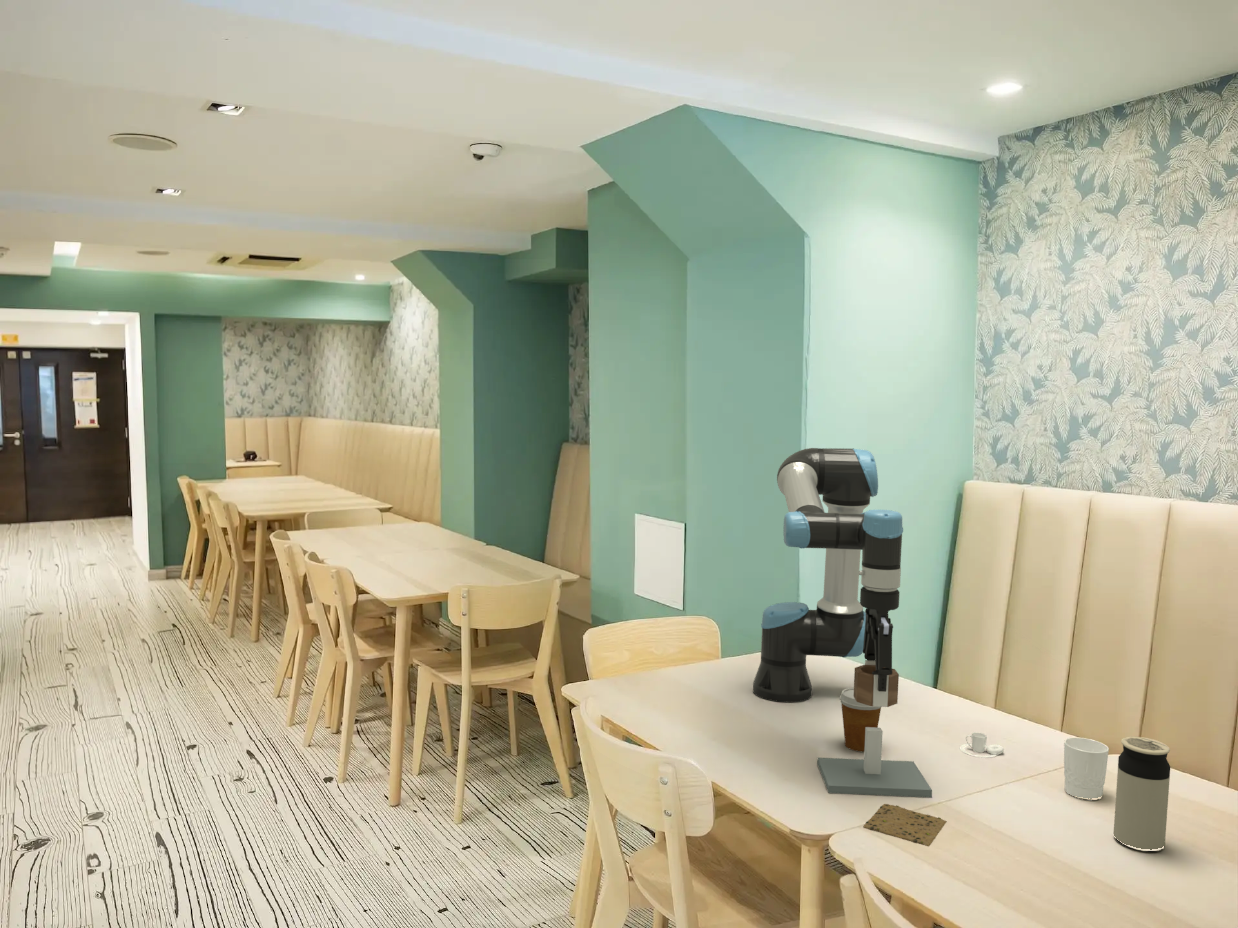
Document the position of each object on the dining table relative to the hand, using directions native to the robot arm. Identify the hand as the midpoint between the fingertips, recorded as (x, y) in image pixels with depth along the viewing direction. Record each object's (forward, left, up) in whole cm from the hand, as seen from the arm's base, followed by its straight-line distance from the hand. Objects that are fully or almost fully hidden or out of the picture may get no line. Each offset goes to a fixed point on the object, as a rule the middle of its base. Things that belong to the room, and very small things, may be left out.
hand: (875, 698), depth 188 cm
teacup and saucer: (-16, +28, -18) cm, 37 cm away
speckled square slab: (+19, +2, -18) cm, 26 cm away
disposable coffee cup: (-18, +1, -17) cm, 25 cm away
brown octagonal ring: (0, 0, 0) cm, 0 cm away
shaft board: (0, 0, -17) cm, 17 cm away
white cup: (+2, +41, -17) cm, 45 cm away
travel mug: (+22, +42, -17) cm, 51 cm away
